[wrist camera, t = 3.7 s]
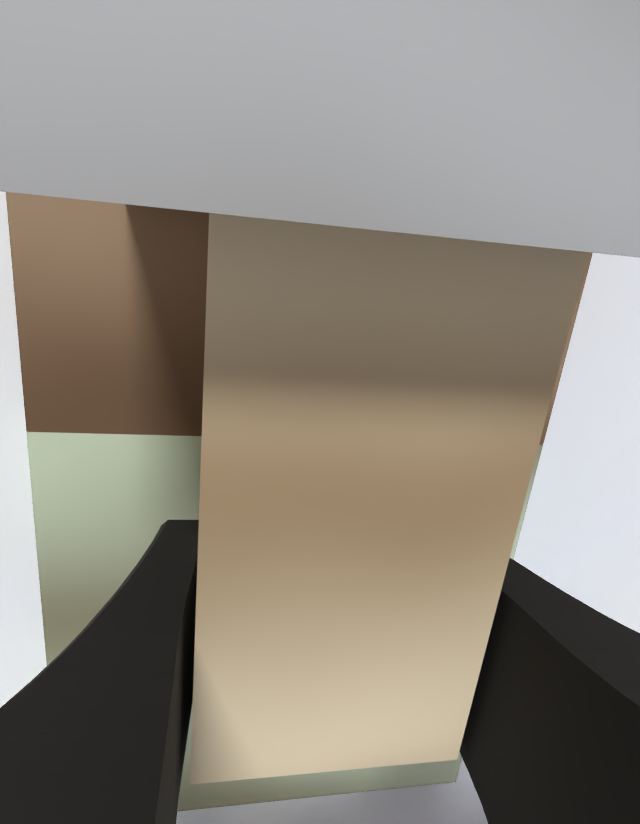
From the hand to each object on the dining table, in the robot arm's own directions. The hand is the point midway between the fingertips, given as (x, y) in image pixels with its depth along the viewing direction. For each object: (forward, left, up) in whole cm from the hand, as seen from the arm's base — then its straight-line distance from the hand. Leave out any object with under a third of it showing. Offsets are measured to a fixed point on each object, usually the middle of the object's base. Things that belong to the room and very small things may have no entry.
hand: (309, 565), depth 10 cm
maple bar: (+3, 0, -1) cm, 3 cm away
